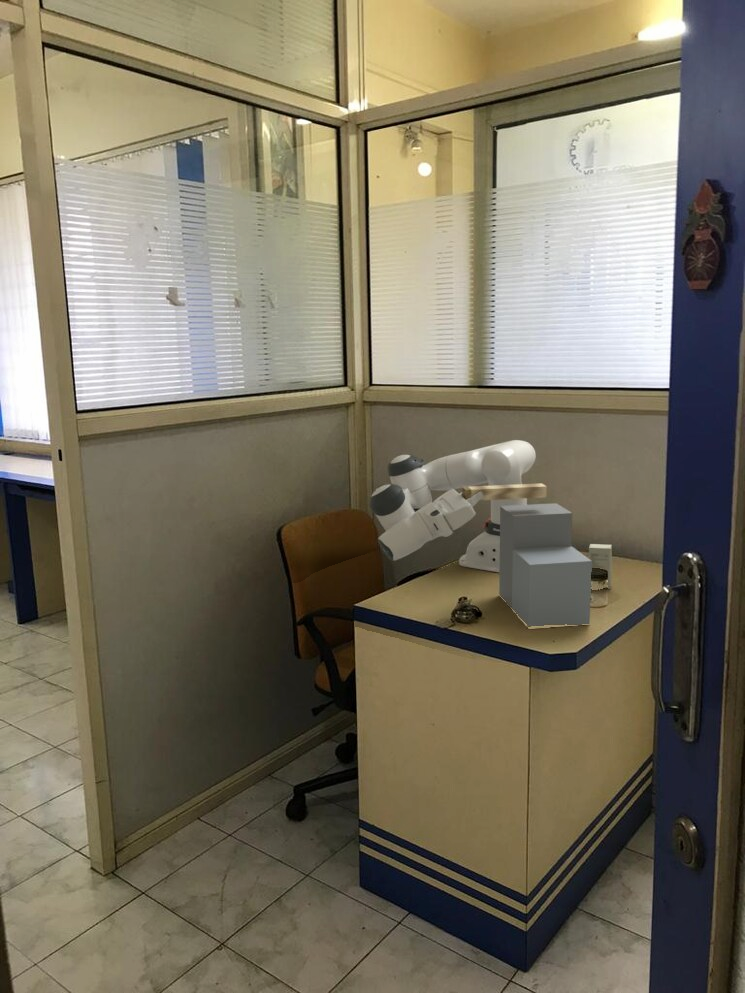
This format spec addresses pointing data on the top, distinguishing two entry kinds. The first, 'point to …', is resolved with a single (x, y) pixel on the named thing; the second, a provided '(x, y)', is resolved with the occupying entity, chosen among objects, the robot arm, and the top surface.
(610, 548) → the skincare box
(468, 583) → the top surface
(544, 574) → the stepped stand
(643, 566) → the top surface
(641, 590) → the top surface
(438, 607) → the top surface
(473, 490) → the birch bar
